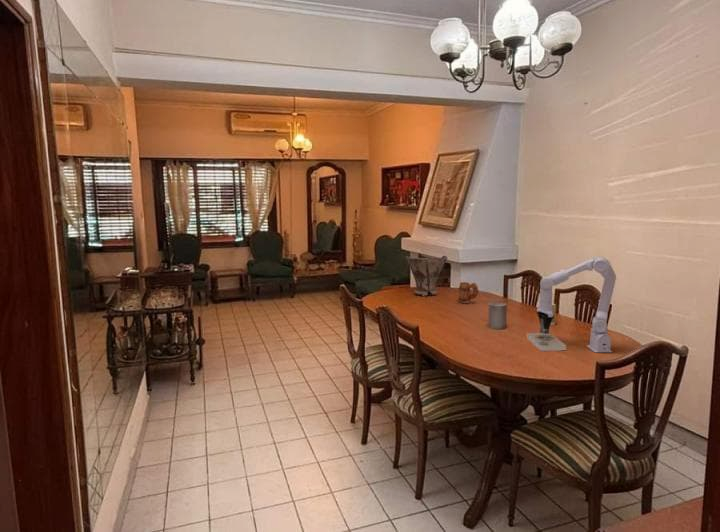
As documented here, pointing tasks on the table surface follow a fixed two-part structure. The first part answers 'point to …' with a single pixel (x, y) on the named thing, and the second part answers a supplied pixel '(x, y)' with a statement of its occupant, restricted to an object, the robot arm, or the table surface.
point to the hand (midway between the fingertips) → (544, 327)
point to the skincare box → (553, 313)
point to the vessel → (426, 273)
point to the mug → (467, 292)
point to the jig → (546, 342)
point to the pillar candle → (497, 315)
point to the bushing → (543, 327)
